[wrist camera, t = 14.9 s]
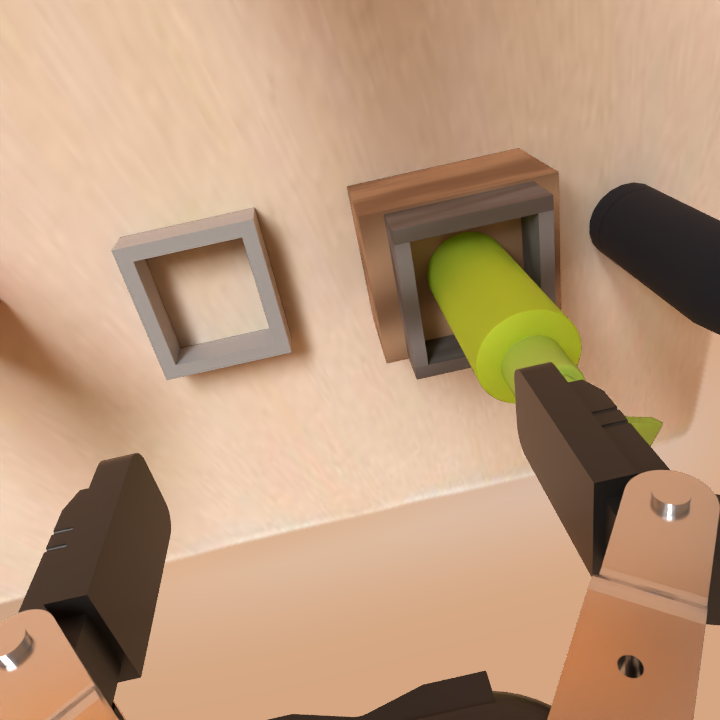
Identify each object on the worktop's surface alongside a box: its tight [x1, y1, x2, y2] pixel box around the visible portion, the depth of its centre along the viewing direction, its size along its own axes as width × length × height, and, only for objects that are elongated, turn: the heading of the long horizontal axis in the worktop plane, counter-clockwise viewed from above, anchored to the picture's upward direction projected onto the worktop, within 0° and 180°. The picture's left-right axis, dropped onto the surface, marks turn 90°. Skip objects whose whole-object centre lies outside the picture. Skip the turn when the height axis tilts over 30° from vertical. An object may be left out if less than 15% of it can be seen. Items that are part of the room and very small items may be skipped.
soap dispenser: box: [427, 232, 663, 446], centre depth 36 cm, size 6×7×20 cm
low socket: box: [112, 208, 291, 380], centre depth 50 cm, size 12×11×3 cm
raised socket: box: [347, 148, 561, 379], centre depth 46 cm, size 12×14×12 cm
